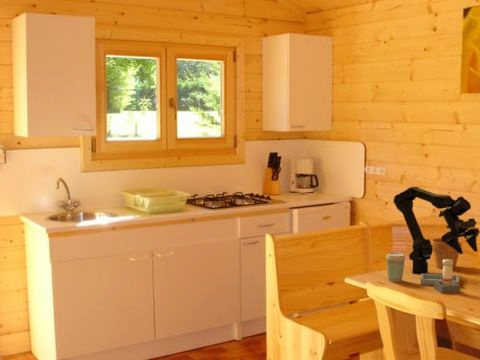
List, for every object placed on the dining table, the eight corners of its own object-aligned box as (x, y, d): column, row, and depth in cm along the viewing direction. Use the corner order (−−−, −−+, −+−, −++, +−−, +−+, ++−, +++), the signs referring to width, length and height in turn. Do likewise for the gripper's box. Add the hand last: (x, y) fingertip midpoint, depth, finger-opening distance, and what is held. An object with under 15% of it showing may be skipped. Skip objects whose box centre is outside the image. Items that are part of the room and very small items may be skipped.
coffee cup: (406, 279, 300) (407, 253, 299) (402, 284, 293) (403, 257, 291) (387, 277, 304) (388, 251, 303) (383, 282, 296) (383, 255, 295)
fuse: (441, 291, 280) (442, 261, 279) (441, 288, 284) (442, 258, 283) (452, 292, 279) (453, 261, 278) (452, 289, 283) (453, 259, 282)
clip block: (434, 288, 285) (434, 281, 285) (452, 287, 286) (452, 280, 286) (441, 293, 277) (441, 286, 277) (460, 292, 278) (460, 285, 278)
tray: (420, 284, 291) (420, 279, 291) (421, 278, 301) (421, 273, 301) (459, 287, 286) (459, 281, 286) (458, 281, 297) (458, 275, 296)
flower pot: (437, 262, 334) (438, 236, 333) (465, 266, 325) (466, 240, 324) (425, 267, 323) (426, 241, 322) (454, 271, 314) (455, 244, 313)
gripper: (450, 213, 284) (467, 246, 277) (479, 210, 293) (496, 242, 287) (433, 226, 292) (449, 258, 285) (462, 222, 302) (478, 253, 295)
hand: (469, 252), depth 288 cm, fingers open, 9 cm apart
